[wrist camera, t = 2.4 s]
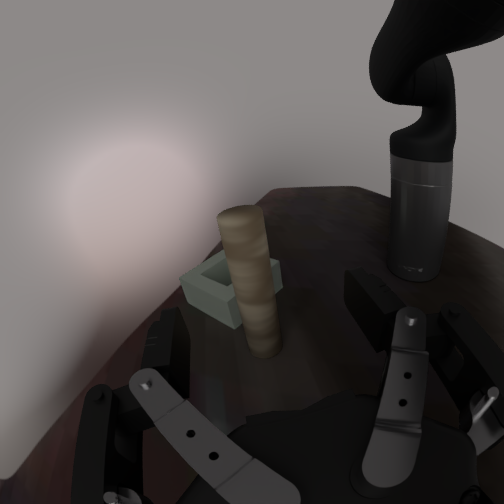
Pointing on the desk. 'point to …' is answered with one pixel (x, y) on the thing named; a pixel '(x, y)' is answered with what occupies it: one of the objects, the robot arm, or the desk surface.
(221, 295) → the socket
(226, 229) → the peg
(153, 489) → the desk surface
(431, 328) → the robot arm
